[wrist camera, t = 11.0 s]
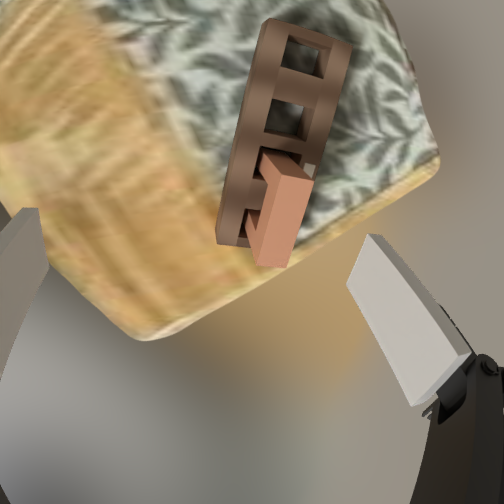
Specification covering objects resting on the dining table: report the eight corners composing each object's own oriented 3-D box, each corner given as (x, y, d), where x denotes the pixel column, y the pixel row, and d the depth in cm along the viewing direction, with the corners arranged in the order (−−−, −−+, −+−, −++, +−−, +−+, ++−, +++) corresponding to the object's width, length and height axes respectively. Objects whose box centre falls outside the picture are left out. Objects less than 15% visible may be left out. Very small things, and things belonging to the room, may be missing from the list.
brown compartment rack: (262, 23, 25) (269, 17, 22) (339, 47, 27) (354, 45, 24) (215, 229, 37) (216, 245, 34) (284, 238, 40) (291, 253, 37)
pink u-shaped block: (259, 147, 33) (281, 174, 24) (284, 152, 34) (314, 181, 25) (242, 218, 37) (256, 265, 29) (265, 221, 38) (286, 268, 30)
